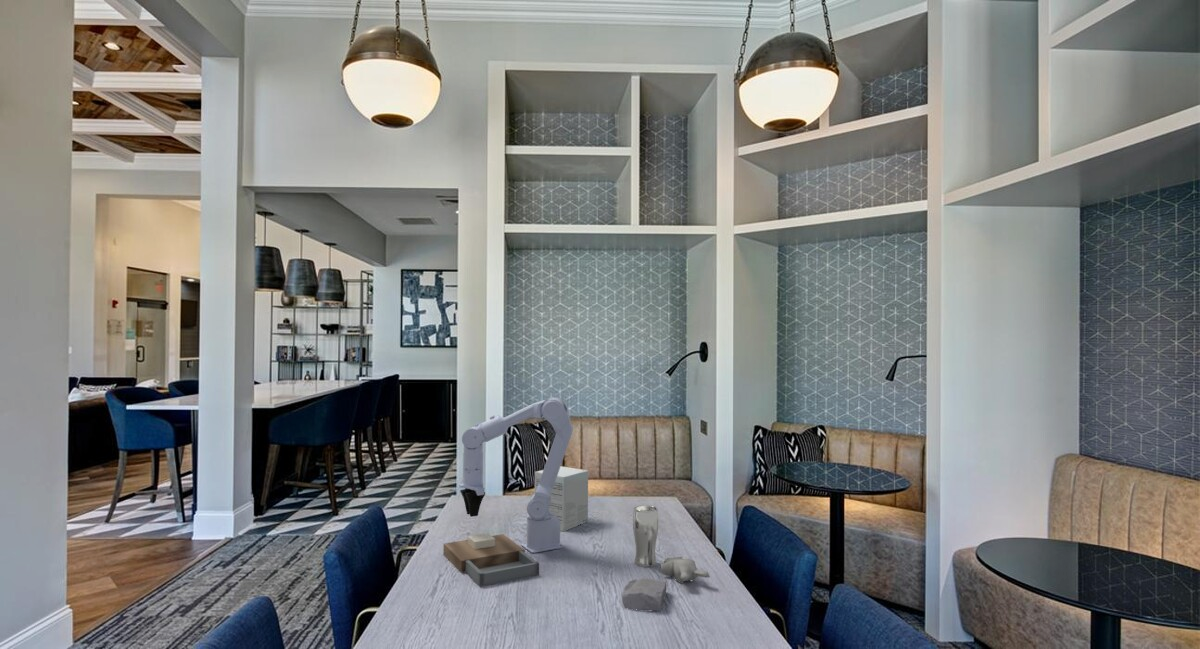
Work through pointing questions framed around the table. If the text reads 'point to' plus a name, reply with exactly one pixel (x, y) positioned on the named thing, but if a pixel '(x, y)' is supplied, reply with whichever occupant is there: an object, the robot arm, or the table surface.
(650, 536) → the beer glass
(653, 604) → the stone block
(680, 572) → the bunny figurine
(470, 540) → the tile
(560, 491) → the supplement box
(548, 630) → the table surface
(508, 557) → the drawer casing
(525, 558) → the box
